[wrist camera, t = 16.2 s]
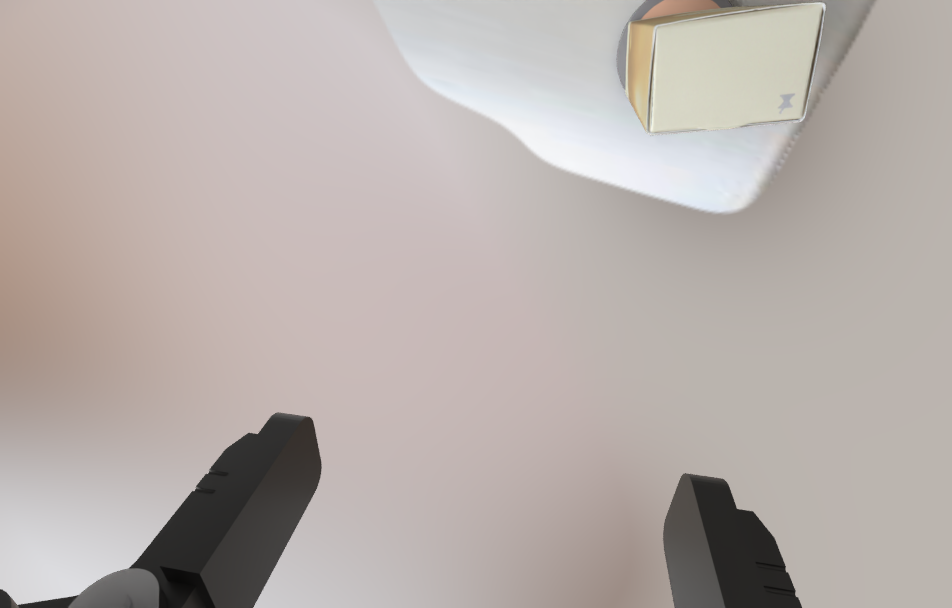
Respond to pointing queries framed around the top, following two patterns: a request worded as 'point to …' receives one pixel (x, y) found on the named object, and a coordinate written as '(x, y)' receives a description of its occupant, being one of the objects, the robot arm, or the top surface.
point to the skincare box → (723, 67)
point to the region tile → (658, 4)
